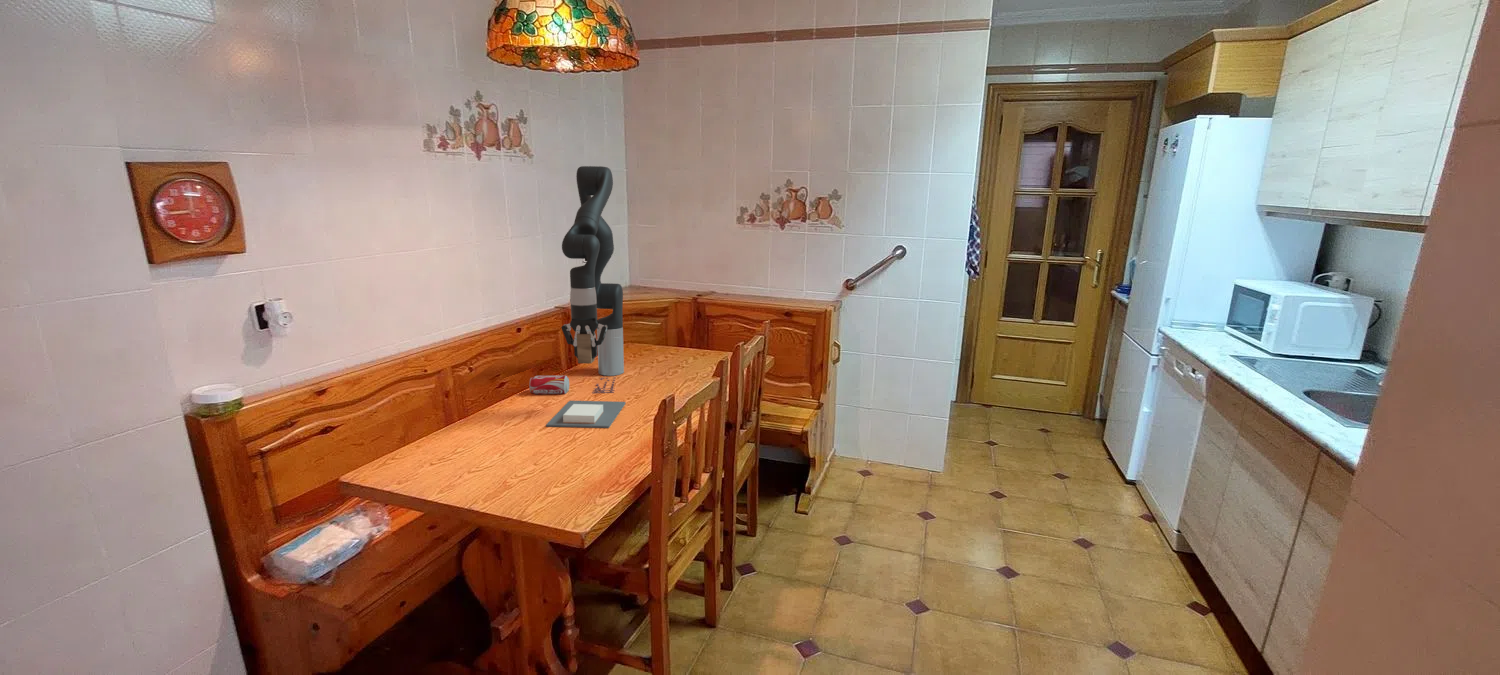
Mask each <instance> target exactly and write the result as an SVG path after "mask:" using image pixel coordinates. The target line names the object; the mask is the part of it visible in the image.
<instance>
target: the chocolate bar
mask: <svg viewBox="0 0 1500 675" xmlns="http://www.w3.org/2000/svg"><path fill="white" fill-rule="evenodd" d="M602 376H603V377H600V379H599V380H600V381H602V380H605V379H606V380H607V381H604V384H603V386H602V387H600V386H599V385H600V384H599V383H596V384H595V385H596V387H595V388H593V389H594V390H592V392H591V394H614V393H615V389H614V386H615V381H616V376H613V379H612V382H611V386H610V387H607V383H608V382H610V379H609V377H606V376H605V375H602ZM605 377H606V378H605Z"/></svg>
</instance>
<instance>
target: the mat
mask: <svg viewBox="0 0 1500 675" xmlns="http://www.w3.org/2000/svg"><path fill="white" fill-rule="evenodd" d="M573 404H596V405H603V413H602V415H601V416H600V417H599V419H598V420H597V421H596V423H595V424H586V423H564V422H563V415H564V414H565V413H566V412H567V410H568V409H569V408H570V407H571V406H572V405H573ZM625 405H626V401H612V400H611V401H606V400H603V401H601V400H569V401H567V403H566V404H565V405H563V406H562V408H560V409H559V411H558V412H557V413H556V414H554V416H553V417H552V418H551V419H550V420H549V421H548V422H546V423H545V427H547V428H549V427H551V428H584V429H586V428H587V429H588V428H589V429H590V428H591V429H595V428H597V429H609V428H610V427H611V425H612V424H613V423H614V421H615V420H616V418H617V417H618V415H619V414H620V413H621V411H622V410H623V408H624V407H625Z"/></svg>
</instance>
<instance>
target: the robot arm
mask: <svg viewBox="0 0 1500 675" xmlns="http://www.w3.org/2000/svg"><path fill="white" fill-rule="evenodd" d="M612 173H613V172H612V170H611V169H610V168H609V167H607V166H600V165H599V166H597V165H596V166H594V165H592V166H591V165H588V166H587V165H586V166H585V165H584V166H583V165H582V166H579V167H577V170H576V176H575V177H576V178H575V179H576V186H577V191H578V197H579V202H580V207H579V208H578V210H577V212H576V215H575V219H574V222H573V224H572V226H571V227H570V229H568V231H567V232H566V233H565V235H564V237H563V238H562V242H561V250H562V253H563V255H564V256H565V257H566V258H568V259H574V260H575V259H576V260H577V259H578V260H581V259H584V260H586V262H585V264H584V265H580V266H574V267H571V269H570V271H569V282H570V284H569V285H570V292H569V293H570V294H569V297H570V299H569V303H570V318H571V319H570V322H569V323H565V324H563V325H562V326H561V327H560V328H561V330H562V334H563V335H564V338H565V341H566V343H567V345H571V346H573V351H574V357H576V359H578V354H577V334H590V338H591V345H592V347H591V349H592V359H594V358H595V359H596V357H597V364H598V365H597V366H598V369H597V371H598V375H601V376H605V377H606V376H608V377H615V376H619V375H623V374H624V373H625V360H624V357H625V356H624V355H625V354H624V352H625V351H624V327H623V322H624V321H623V320H624V318H623V308H624V307H623V306H624V304H623V302H624V292H623V291H624V289H623V287H622V285H621V284H619V283H611V282H610V283H609V282H607V283H605V282H604V283H603V282H602V281H601V276H602V274H603V272H604V270H605V267H606V266H607V264H608V263H609V261H610V259H611V258H612V256H613V254H614V251H615V245H614V236H613V231H612V229H611V227H610V225H609V224H608V223H607V221H606V220H605V219H604V218H603V216H602V213H603V211H604V209H605V207H606V205H607V203H608V202H609V198H610V196H611V194H612V191H613V186H614V181H613V180H614V178H613V174H612ZM598 310H612V313H610V314H609V315H607V316H604V317H601V318H599V319H598ZM571 330H573V331H574V338H573V335H572V333H571ZM592 334H593V335H592Z"/></svg>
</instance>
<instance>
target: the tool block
mask: <svg viewBox="0 0 1500 675" xmlns="http://www.w3.org/2000/svg"><path fill="white" fill-rule="evenodd" d="M592 335H593V334H592ZM591 347H592V345H591V338H590V334H577V354H578V358H577V363H578V364H587V365H588V364H589V365H590V364H592V363H594V362H595V361H596V360H595V359H596V357H595V358H594V359H592V349H591Z"/></svg>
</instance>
